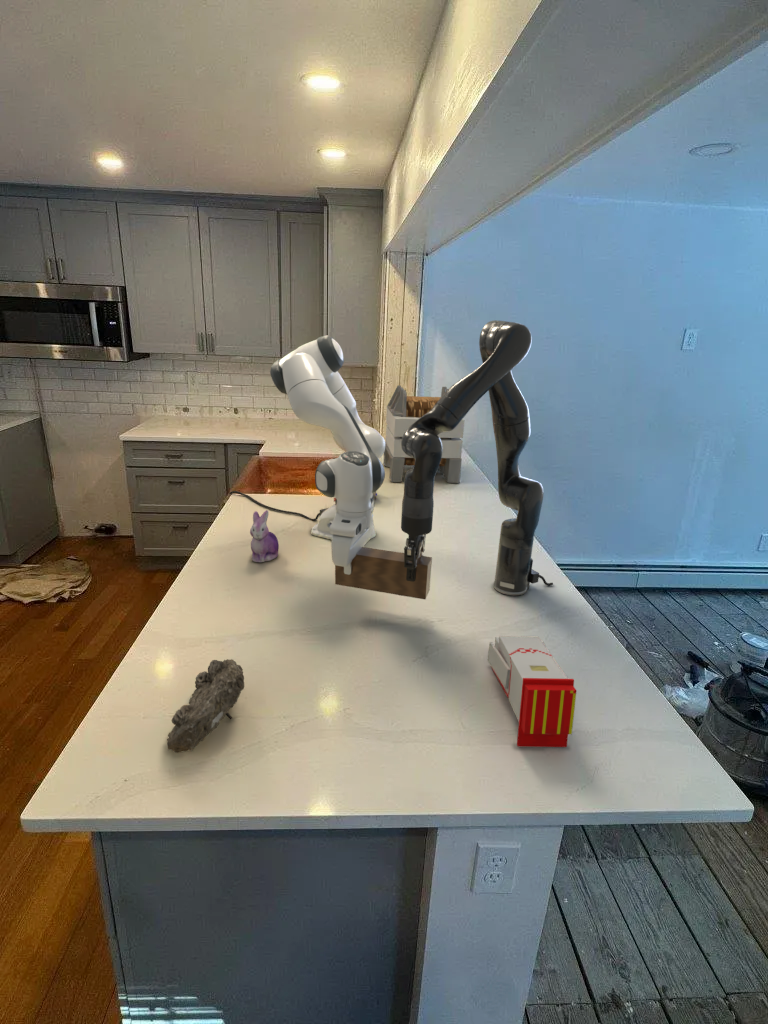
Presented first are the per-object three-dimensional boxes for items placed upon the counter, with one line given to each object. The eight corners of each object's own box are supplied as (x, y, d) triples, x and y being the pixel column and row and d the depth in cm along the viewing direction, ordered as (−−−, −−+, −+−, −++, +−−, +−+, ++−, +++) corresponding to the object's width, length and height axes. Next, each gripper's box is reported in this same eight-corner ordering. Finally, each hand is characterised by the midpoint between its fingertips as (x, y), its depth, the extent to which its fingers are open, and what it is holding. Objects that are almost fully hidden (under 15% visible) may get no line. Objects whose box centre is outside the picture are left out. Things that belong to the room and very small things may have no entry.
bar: (334, 584, 146) (335, 551, 143) (341, 575, 151) (342, 543, 147) (425, 599, 140) (427, 565, 137) (429, 590, 145) (432, 557, 142)
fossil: (192, 660, 117) (244, 628, 112) (224, 691, 120) (276, 661, 115) (142, 746, 98) (202, 712, 93) (182, 779, 101) (242, 748, 96)
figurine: (254, 565, 170) (252, 519, 165) (245, 552, 179) (243, 508, 174) (284, 560, 175) (283, 515, 169) (274, 548, 183) (273, 504, 178)
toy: (536, 619, 129) (586, 686, 99) (531, 673, 131) (578, 754, 102) (483, 618, 128) (517, 685, 99) (479, 672, 131) (511, 753, 102)
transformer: (382, 463, 289) (386, 382, 275) (445, 464, 293) (451, 384, 279) (390, 482, 257) (394, 392, 243) (460, 483, 261) (468, 394, 247)
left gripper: (355, 503, 151) (353, 550, 156) (326, 529, 133) (326, 582, 137) (377, 506, 150) (375, 554, 154) (352, 533, 131) (351, 587, 136)
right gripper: (426, 524, 128) (422, 591, 134) (438, 504, 142) (433, 566, 147) (394, 519, 130) (391, 585, 136) (409, 501, 143) (405, 562, 149)
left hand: (352, 568), depth 146 cm, fingers closed on bar, 5 cm apart
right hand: (413, 575), depth 142 cm, fingers closed on bar, 5 cm apart
